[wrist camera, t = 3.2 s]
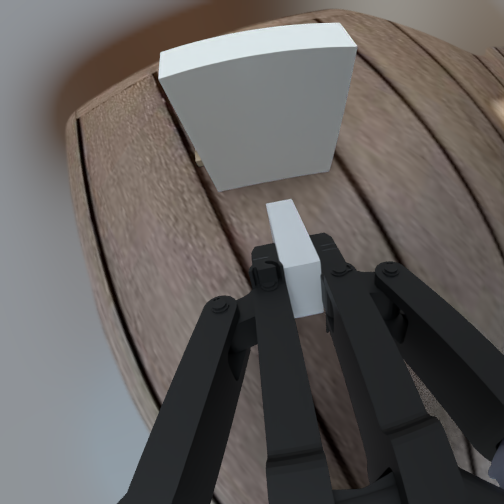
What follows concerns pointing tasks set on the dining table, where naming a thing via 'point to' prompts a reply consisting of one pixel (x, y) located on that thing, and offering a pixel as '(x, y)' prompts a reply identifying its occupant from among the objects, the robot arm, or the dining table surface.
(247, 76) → the tile
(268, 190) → the dining table surface
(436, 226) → the dining table surface
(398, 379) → the robot arm
